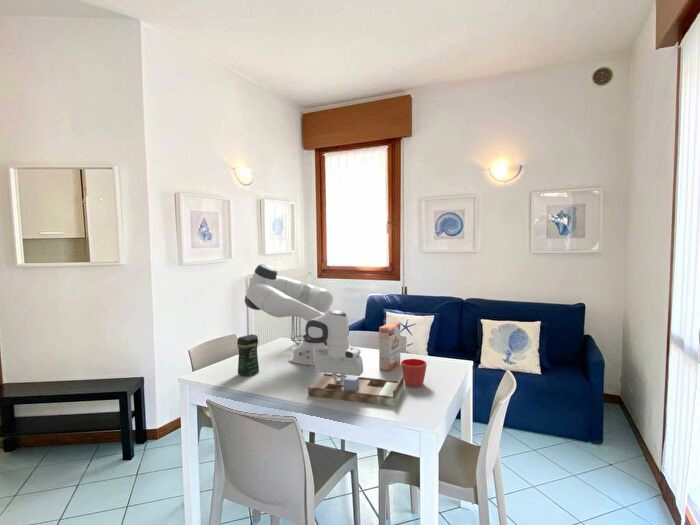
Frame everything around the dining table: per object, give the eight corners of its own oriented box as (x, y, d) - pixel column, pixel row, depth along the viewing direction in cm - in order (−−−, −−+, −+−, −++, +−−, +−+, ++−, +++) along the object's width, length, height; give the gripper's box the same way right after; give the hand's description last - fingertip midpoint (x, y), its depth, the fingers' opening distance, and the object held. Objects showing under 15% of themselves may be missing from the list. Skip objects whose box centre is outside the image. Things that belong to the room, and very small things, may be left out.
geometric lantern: (288, 349, 226) (286, 289, 225) (295, 342, 241) (293, 287, 240) (314, 349, 223) (312, 289, 222) (320, 342, 239) (318, 286, 238)
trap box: (308, 395, 156) (307, 381, 156) (324, 381, 172) (323, 368, 172) (395, 406, 144) (395, 390, 144) (403, 389, 160) (403, 375, 160)
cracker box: (390, 371, 183) (389, 328, 182) (378, 370, 186) (378, 327, 185) (401, 363, 195) (400, 322, 194) (390, 361, 198) (389, 321, 197)
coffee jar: (246, 378, 178) (244, 338, 177) (235, 375, 183) (233, 336, 182) (262, 372, 186) (260, 334, 185) (251, 369, 190) (250, 332, 189)
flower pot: (409, 378, 174) (409, 356, 174) (431, 383, 167) (430, 361, 167) (396, 385, 166) (396, 362, 165) (419, 390, 159) (418, 367, 158)
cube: (343, 389, 154) (343, 380, 154) (347, 385, 159) (347, 375, 158) (355, 391, 152) (355, 381, 152) (359, 386, 157) (359, 377, 157)
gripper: (311, 350, 156) (312, 384, 157) (359, 354, 149) (360, 389, 150) (317, 346, 162) (318, 378, 163) (364, 350, 155) (364, 383, 156)
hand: (338, 384), depth 156 cm, fingers closed
